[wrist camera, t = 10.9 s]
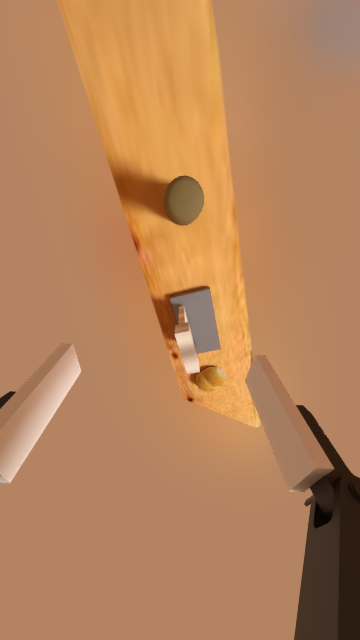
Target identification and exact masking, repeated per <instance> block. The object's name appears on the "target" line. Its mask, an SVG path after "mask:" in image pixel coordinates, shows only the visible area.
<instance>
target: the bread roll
mask: <svg viewBox="0 0 360 640" xmlns="http://www.w3.org/2000/svg"><path fill="white" fill-rule="evenodd" d="M225 383H226V374H225V373H224V372H223V371H222V370H221V369H220V368H218V367H208V368H206V369H204V370H203V371H202V372H200V373H198V374H197V375H196V384H197V386H198V387H199V388H200V389H201V390H202V391H205V392H211V391H215V390H217V389H218V388H219V387H220V386H223V385H224V384H225Z"/></svg>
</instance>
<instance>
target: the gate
mask: <svg viewBox="0 0 360 640" xmlns="http://www.w3.org/2000/svg"><path fill="white" fill-rule="evenodd" d="M174 334H175V337H176V340H177V344H178V347H179V350H180V353H181V356H182V359H183V362H184V366H185V369H186V372H187V374H191V373H197V372H200V368H199V361H198V357H197V353H196V345H195V342H194V341H193V338H192V334H191V330H190V326H189V322H188V319H187V316H186V312H185V308H184V306H180V307H179V324H177V325H175V333H174Z"/></svg>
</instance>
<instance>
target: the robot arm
mask: <svg viewBox="0 0 360 640" xmlns="http://www.w3.org/2000/svg"><path fill="white" fill-rule="evenodd" d="M80 373H81V369H80V366H79V362H78V359H77V356H76V353H75V350H74V347H73V344H65V343H61V344H60V346H59V347H58V348H57V349H56V350H55V351H54V352H53V353H52V354H51V355H50V356H49V357H48V358H47V360H46V361H45V362H44V363H43V364H42V365H41V366H40V367H39V368H38V369H37V370H36V371H35V372H34V373H33V375H32V376H31V377H30V378H29V379H28V380H27V381H26V382H25V383H24V384H23V385H22V386H21V387H20V388H19V390H18V391H17V392H11V391H10V392H9V393H7V394H6V395H4V396H3V397H1V398H0V483H10V482H11V481H12V479H13V478H14V476H15V474H16V473H17V471H18V469H19V468H20V466H21V465H22V463H23V462H24V460H25V459H26V457H27V456H28V454H29V452H30V451H31V449H32V448H33V446H34V445H35V443H36V441H37V440H38V438H39V437H40V435H41V434H42V432H43V431H44V429H45V427H46V425H47V424H48V423H49V421H50V420H51V418H52V416H53V415H54V413H55V412H56V410H57V409H58V407H59V405H60V404H61V402H62V401H63V399H64V398H65V396H66V394H67V393H68V391H69V390H70V388H71V387H72V385H73V384H74V382H75V380H76V379H77V377H78V376H79V374H80ZM245 381H246V384H247V386H248V389H249V391H250V394H251V397H252V399H253V402H254V404H255V407H256V409H257V412H258V414H259V417H260V419H261V422H262V424H263V427H264V429H265V432H266V435H267V437H268V440H269V442H270V445H271V447H272V450H273V452H274V455H275V458H276V460H277V463H278V465H279V468H280V470H281V473H282V475H283V478H284V480H285V483H286V486H287V488H288V491H291V492H292V491H293V492H305V491H306V490H307V489H308V488H310V489H311V491H312V493H313V496H311V497H310V498H308V499H307V500H306V501H305V503H304V504H305V505H306V506H308V505H310V504H311V508H310V515H309V523H308V531H307V540H306V548H305V556H304V564H303V572H302V580H301V589H300V596H299V605H298V613H297V621H296V629H295V637H294V640H360V478H359V477H356V476H355V475H353V474H352V473H351V472H350V470H349V469H348V468H347V466H346V465H345V463H344V462H343V461H342V459H341V457H340V456H339V454H338V453H337V451H336V450H335V448H334V447H333V446H332V444H331V442H330V441H329V439H328V438H327V436H326V435H325V434H324V432H323V430H322V429H321V427H320V426H319V425H318V423H317V421H316V420H315V418H314V416H313V415H312V414H311V413H310V412H309V411H308V410H307V409H306V408H305V407H304V406H303V405H295V403H294V402H293V400H292V398H291V397H290V395H289V393H288V392H287V390H286V389H285V387H284V385H283V384H282V382H281V380H280V379H279V377H278V375H277V374H276V372H275V371H274V369H273V367H272V366H271V364H270V362H269V361H268V359H267V357H266V356H264V355H255V357H254V359H253V362H252V364H251V367H250V369H249V372H248V374H247V377H246V379H245Z"/></svg>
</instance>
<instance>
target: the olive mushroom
mask: <svg viewBox="0 0 360 640" xmlns="http://www.w3.org/2000/svg"><path fill="white" fill-rule="evenodd" d="M203 204H204V195H203V191H202V188H201V186H200V185H199V183H198V182H197V181H196V180H195V179H194V178H192V177H189V176H179V177H177V178H175V179H174V180H173V181H172V182H171V183H170V184H169V186H168V188H167V190H166V193H165V207H166V210H167V213H168V215H169V217H170V219H171V220H172V221H173V222H174V223H176V224H178V225H188V224H190V223H192V222H193V221H194V220H195V219H196V218H197V217H198V216H199V214H200V212H201V211H202V208H203Z"/></svg>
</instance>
